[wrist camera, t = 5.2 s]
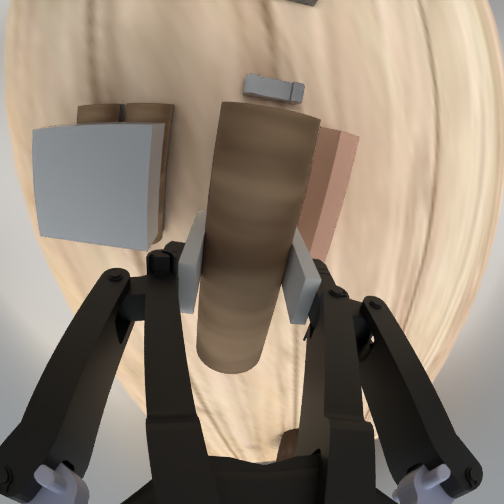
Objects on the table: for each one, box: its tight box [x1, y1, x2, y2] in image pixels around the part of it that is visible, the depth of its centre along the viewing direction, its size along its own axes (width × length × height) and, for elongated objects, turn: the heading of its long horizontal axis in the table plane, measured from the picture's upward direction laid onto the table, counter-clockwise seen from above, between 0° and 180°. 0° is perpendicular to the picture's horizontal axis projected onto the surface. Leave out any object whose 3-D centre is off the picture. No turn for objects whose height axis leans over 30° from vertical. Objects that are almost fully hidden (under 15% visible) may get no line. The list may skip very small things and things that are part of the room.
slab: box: [32, 122, 165, 251], centre depth 23 cm, size 12×14×4 cm
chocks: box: [118, 104, 174, 225], centre depth 30 cm, size 16×23×1 cm
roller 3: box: [196, 102, 321, 374], centre depth 15 cm, size 16×5×5 cm, turn 170°
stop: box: [297, 127, 359, 263], centre depth 29 cm, size 16×2×7 cm, turn 170°
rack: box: [243, 0, 318, 104], centre depth 21 cm, size 16×6×4 cm, turn 170°
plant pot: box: [276, 429, 299, 462], centre depth 59 cm, size 15×15×16 cm
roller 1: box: [77, 104, 120, 124], centre depth 27 cm, size 16×5×5 cm, turn 170°
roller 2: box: [125, 103, 173, 245], centre depth 28 cm, size 16×5×5 cm, turn 170°
